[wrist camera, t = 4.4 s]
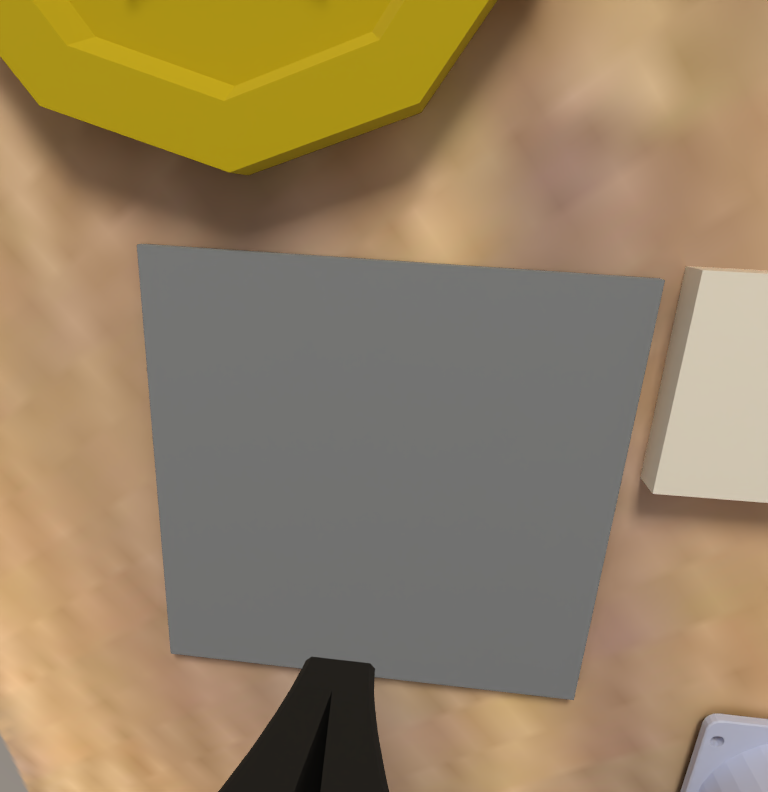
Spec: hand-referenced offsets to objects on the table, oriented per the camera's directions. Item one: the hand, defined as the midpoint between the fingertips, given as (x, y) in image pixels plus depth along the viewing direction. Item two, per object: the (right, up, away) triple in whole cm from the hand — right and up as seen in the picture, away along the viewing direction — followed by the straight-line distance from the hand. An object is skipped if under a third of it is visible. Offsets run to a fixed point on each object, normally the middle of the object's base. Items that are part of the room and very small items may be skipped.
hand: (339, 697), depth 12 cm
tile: (+10, +7, +6) cm, 13 cm away
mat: (+1, +3, +8) cm, 9 cm away
